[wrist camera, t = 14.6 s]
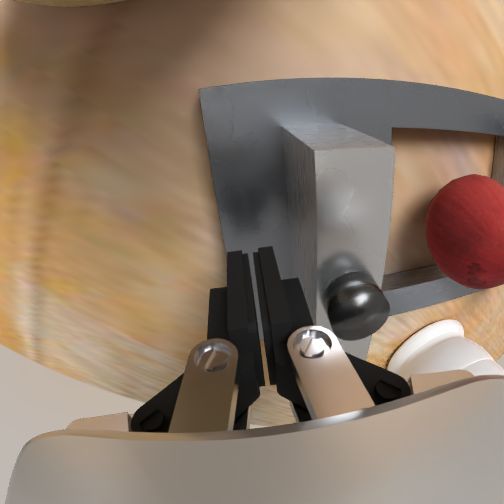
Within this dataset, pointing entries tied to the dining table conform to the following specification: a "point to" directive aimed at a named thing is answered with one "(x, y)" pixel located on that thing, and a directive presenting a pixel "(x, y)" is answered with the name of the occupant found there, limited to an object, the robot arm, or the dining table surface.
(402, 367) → the jar
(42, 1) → the ceramic vessel
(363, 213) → the door
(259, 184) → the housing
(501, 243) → the onion
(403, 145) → the dining table surface
